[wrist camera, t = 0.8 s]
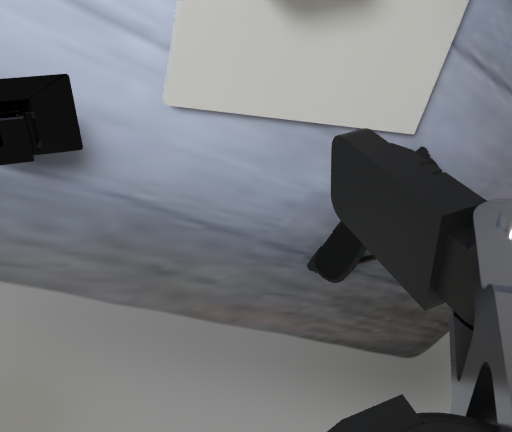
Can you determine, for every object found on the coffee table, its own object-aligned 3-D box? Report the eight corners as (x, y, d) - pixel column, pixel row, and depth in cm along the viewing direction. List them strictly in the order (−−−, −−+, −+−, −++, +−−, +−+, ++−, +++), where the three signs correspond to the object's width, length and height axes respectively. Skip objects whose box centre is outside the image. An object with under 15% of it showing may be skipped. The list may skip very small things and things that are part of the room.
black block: (88, 59, 33) (94, 77, 29) (103, 156, 37) (110, 183, 33) (-127, 72, 29) (-151, 95, 25) (-85, 179, 33) (-100, 213, 29)
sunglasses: (368, 307, 58) (391, 336, 54) (297, 258, 50) (319, 289, 46) (470, 207, 55) (503, 230, 52) (414, 137, 47) (449, 159, 43)
